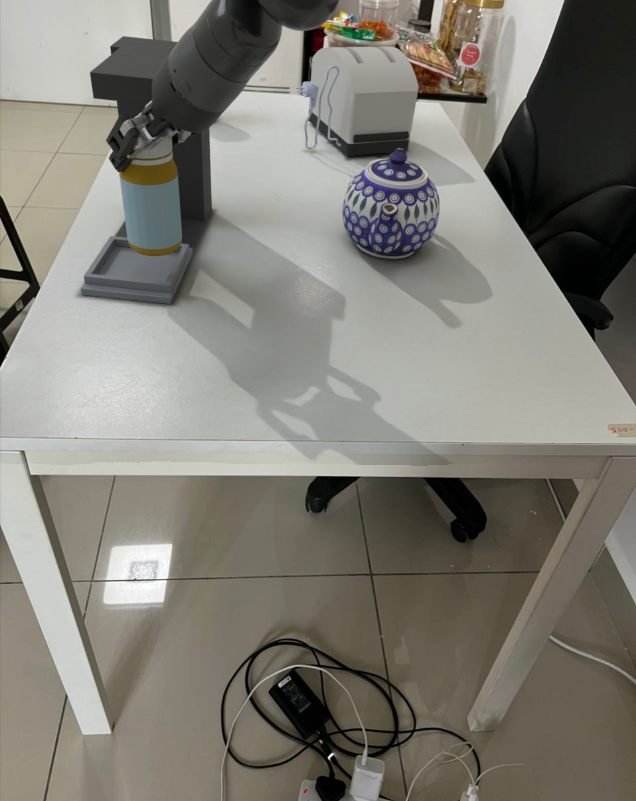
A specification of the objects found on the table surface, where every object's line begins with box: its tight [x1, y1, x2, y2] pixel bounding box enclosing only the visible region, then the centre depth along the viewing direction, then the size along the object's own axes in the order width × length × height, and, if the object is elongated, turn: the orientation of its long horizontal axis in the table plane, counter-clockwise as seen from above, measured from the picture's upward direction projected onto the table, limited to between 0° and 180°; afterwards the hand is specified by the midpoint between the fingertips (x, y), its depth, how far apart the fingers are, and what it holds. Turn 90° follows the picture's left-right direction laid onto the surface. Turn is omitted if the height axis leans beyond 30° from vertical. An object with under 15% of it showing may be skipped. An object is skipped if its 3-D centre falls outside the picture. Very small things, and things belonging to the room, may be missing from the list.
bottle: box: [118, 127, 182, 256], centre depth 81 cm, size 7×7×15 cm
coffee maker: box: [80, 35, 213, 305], centre depth 89 cm, size 29×12×26 cm, turn 176°
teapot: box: [342, 148, 441, 260], centre depth 99 cm, size 25×15×15 cm, turn 167°
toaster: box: [296, 45, 419, 158], centre depth 132 cm, size 23×25×17 cm
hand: (137, 157), depth 79 cm, fingers closed on bottle, 6 cm apart
